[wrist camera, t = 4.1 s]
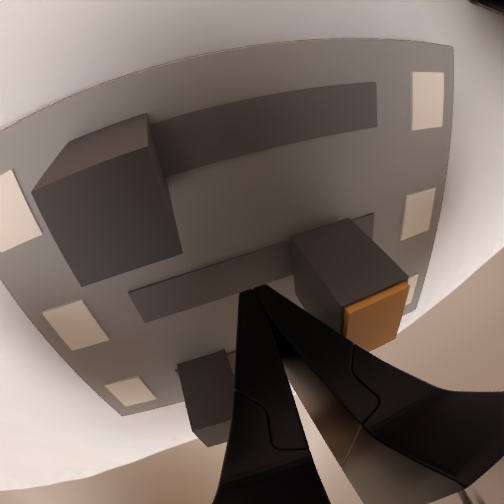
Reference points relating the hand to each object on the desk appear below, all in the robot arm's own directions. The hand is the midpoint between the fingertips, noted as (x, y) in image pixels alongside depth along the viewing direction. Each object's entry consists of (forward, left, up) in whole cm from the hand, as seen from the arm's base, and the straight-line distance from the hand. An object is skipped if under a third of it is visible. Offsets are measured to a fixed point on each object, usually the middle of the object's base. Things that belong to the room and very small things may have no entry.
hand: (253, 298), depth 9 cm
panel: (-1, 0, -2) cm, 3 cm away
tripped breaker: (-2, 0, -1) cm, 3 cm away
